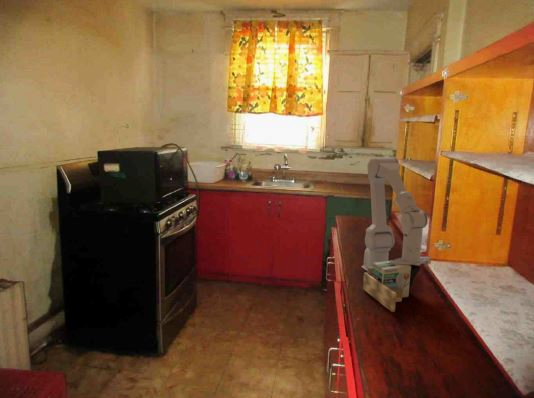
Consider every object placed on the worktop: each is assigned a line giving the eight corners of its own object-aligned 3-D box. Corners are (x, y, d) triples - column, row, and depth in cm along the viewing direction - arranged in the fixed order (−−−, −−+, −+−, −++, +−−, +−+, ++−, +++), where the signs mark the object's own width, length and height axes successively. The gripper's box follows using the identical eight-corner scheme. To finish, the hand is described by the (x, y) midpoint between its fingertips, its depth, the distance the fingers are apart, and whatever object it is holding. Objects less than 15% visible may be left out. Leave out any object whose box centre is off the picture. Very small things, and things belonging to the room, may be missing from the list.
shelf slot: (363, 289, 130) (364, 267, 129) (381, 286, 132) (383, 265, 131) (391, 312, 114) (393, 287, 113) (412, 309, 116) (414, 284, 115)
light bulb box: (381, 301, 121) (383, 269, 119) (370, 292, 128) (371, 262, 126) (409, 296, 125) (412, 265, 122) (396, 288, 131) (398, 258, 129)
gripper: (400, 252, 119) (397, 292, 122) (438, 248, 123) (434, 287, 126) (387, 245, 126) (384, 283, 129) (424, 242, 130) (420, 279, 133)
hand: (408, 285), depth 128 cm, fingers closed
